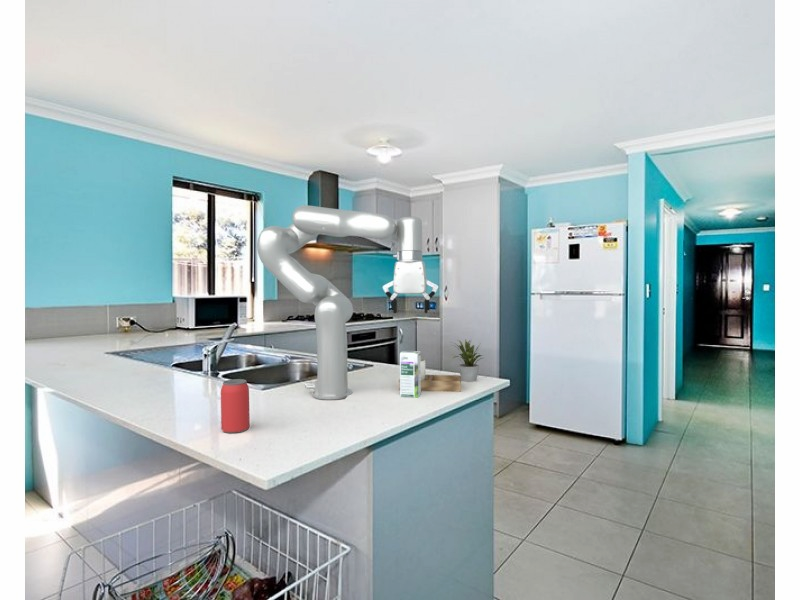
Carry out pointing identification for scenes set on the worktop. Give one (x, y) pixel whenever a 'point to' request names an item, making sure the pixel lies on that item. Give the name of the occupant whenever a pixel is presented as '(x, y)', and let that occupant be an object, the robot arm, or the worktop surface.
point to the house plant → (468, 362)
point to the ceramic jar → (422, 368)
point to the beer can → (235, 406)
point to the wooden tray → (441, 383)
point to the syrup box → (410, 374)
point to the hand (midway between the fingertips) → (410, 312)
